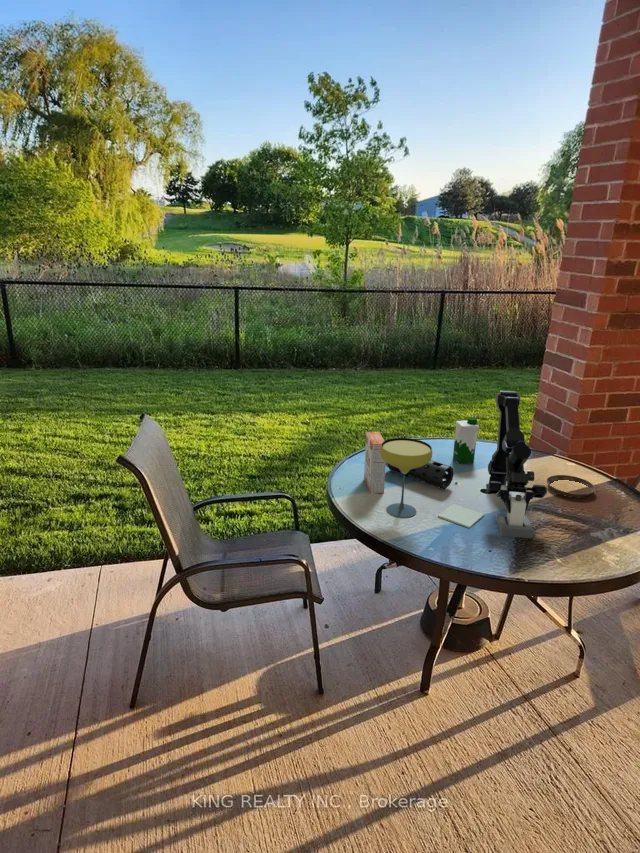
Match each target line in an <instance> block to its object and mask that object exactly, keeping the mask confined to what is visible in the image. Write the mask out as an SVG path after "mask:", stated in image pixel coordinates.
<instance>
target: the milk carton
mask: <svg viewBox="0 0 640 853" xmlns="http://www.w3.org/2000/svg"><path fill="white" fill-rule="evenodd" d="M479 430H480V425H479V424H478V418H476V417H472V416H471V417H468V418H467V420H456V421H455V431H454V444H453V453H452V454H453V456H452V458H453V460H454V461H455V462H456V463H457V464H460V465H465V464H467V465H468V464H474V463H475V455H476V454H475V453H476V446H477V438H478V432H479Z"/></svg>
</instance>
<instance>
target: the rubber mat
mask: <svg viewBox="0 0 640 853" xmlns="http://www.w3.org/2000/svg"><path fill="white" fill-rule="evenodd" d="M484 516H485V514H484V513H481V512H478V511H476V510H472V509H470V508H467V507H464V506H461V505H459V504H458V505H457V504H455V503H453V504H451V505H450V506H449V507H447V508H446V509H444V510H443V511H442V512H440V513H439V514H438V515H437V518H440V519H443V520H446V521H449V522H451V523H454V524H457V525H459V526H461V527H465V528H468V529H471V528H472V527H473V526H474V525H475V524H477V523H478V521H480V520H481V519H482V518H483V517H484Z"/></svg>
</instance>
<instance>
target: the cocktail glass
mask: <svg viewBox="0 0 640 853" xmlns="http://www.w3.org/2000/svg"><path fill="white" fill-rule="evenodd" d="M380 455H381V457H382V459H383V460H384V461H386V462H387V463H388V464H390V465H392V466H394V467H397V468H399V470H400V471H401V472H402V473H403V475H402V485H401V488H402V489H401V496H400V497H401V498H400V503H399V502H397V503H392V504H389V505H388V506H387V507H386V512H387V514H389V515H390V514H391V516H392V515H393V516H392V517H395V518H399V517H400V518H401V519H406V518H407V519H408V518H412V517H414V516H416V515H417V509H416V508H415V507H414V506H412V505H410V504H408V503H405V502H404V496H405V495H404V494H405V479H406V476H405V474H406V473H408V472H409V471H410V470H411V469H414V468H418V467H421V466H424V465H426V464H427V463H428V462H429V461H430V460H432V457H433V448H432V446H431V445H430V444H429V443H428V442H425V441H422V440H419V439H415V438H407V437H397V438H396V437H395V438H390V439H386V440H384V442H383V443H382V444H381V446H380Z"/></svg>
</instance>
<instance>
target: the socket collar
mask: <svg viewBox="0 0 640 853" xmlns="http://www.w3.org/2000/svg"><path fill="white" fill-rule="evenodd" d="M507 514H508V513H507ZM507 514H506V513H498V512H497V513H496V519H495V522H496V525H497V529H498V532H499V533H500V534H499V535H500V536H502V537H503V536H504V537H511V538H512V537H513V538H524V539H533V534H534V529H533V526H532V524H531V522H530V520H529V516H527V515H524V522H523V527H522V526H511V525H507V523H506V520H507Z"/></svg>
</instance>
